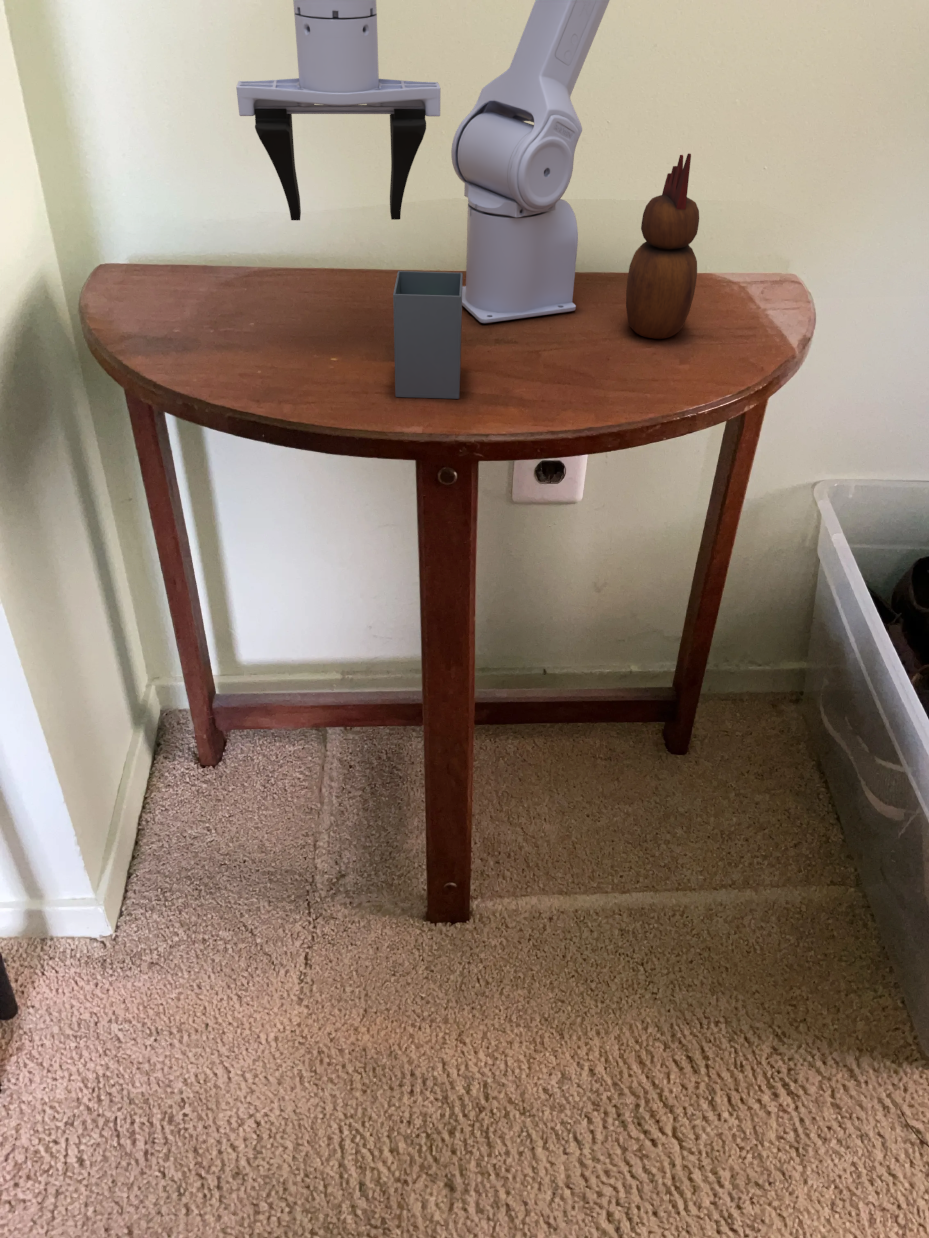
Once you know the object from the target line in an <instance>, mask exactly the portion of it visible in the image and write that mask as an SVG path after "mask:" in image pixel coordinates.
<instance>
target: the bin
mask: <svg viewBox="0 0 929 1238" xmlns="http://www.w3.org/2000/svg"><path fill="white" fill-rule="evenodd" d="M463 276H464V273H463V272H456V271H455V272H453V271H452V272H450V271H422V270H421V271H417V270H397V274H396V279H395V284H394V288H393V293H392V301H393V302H392V303H393V304H392V305H393V306H392V309H393V346H394V347H393V351H394V386H395V387H394V393H395V395H394V397H395V398H412V399H413V398H414V399H415V398H417V399H423V398H424V399H447V400H449V399H450V400H451V399H453V400H459V399H460V393H461V392H460V390H461V388H460V387H461V372H462V371H461V368H462V367H461V365H462V323H463V305H462V287H463Z"/></svg>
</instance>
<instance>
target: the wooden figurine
mask: <svg viewBox="0 0 929 1238" xmlns="http://www.w3.org/2000/svg"><path fill="white" fill-rule="evenodd" d="M691 160H692V154H691V153H687V155H686V158H685V161H684V155H683V154H680V155H679V157H678V161H677V165H673V166H672V168H671V172H669V173H667V174H666V178H665V181H664V186H663V189H662V193H661V194H660V195H656V196H654V197H652V198H651V199H650V200H649V201H648V203H647V204H646V205H645V208H644V210H643V213H642V218H641V223H640V224H641V226H640V231H641V234H642V237H643V239H644V240H645V241H644V242H643V243H642V244H640V245H639V247H638V248H637V249H636V250H635V252H634V254H633V255H632V258H631V261H630V264H629V268H628V274H627V279H626V288H625V309H626V317H627V321H628V325H629V327H630V328H631V329H632V331H633V332H634V333H636V334H637V335H639V336H640V337H644V338H649V339H655V340H661V339H667V338H671V337H673V336H675V335H676V334H677V333H679V332H680V331H681V330H682V328H683V326H684V325H685V323H686V322H687V318H688V316H689V313H690V312H691V308H692V305H693V304H692V303H693V301H694V296H695V291H696V285H697V279H698V260H697V257H696V255H695V252H694V249H693V248H692V247H691V246H690V245H691V243H692V242H693V241H694V240H695V238H696V237H697V235H698V230H699V225H700V209H699V207H698V204H697V203H696V201H695V200H693V199H691V198H690V197H688V189H689V180H690V172H691Z"/></svg>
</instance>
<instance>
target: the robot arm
mask: <svg viewBox="0 0 929 1238" xmlns="http://www.w3.org/2000/svg"><path fill="white" fill-rule="evenodd" d="M610 1H611V0H535V1H534V3H533V5H532V8H531V10H530V14H529V16H528V19H527V21H526V24H525V26H524V28H523V32H522V34H521V36H520V39H519V42H518V44H517V48H516V50H515V52H514V55H513V57H512V60H511V62H510V65H509V68H507V69H506V70H505V71H504V72H503V73H501V74H500V75H499V76H496V77H495V78H494V79H492V80H491V81H490V82H488V83H487V84H486V85H485V86H483V87H482V88H481V90H480V93H479V95H478V98H477V100H476V103H475V104H474V106H473V108H472V109H471V111H470V112H469V113H468V114H467V115H466V116H465V117H464V118H463V120H462V121H461V122H460V123H459V125H458V127H457V129H456V131H455V133H454V136H453V139H452V143H451V152H450V153H451V163H452V167H453V171H454V172H455V174H456V175H457V178H458V179H459V180H460V181H461V182H462V183H464V197H465V198H467V215H466V216H467V217H466V219H467V220H466V224H467V225H466V227H467V228H466V258H465V261H466V262H465V263H466V264H465V285H462V307H463V308H464V309H465V310H466V311H467V312H468V313H470V314H471V315H472V316H473V317H474V318H475V319H476V320H477V321H478V322H479V323H480V324H491V323H497V322H504V321H505V322H506V321H512V320H520V319H526V318H527V319H528V318H533V317H541V316H547V315H548V316H549V315H555V314H562V313H571V312H574V311H576V309H577V305H576V304H575V303H574V302H573V297H574V289H575V277H576V266H577V257H578V256H577V255H578V245H579V232H578V231H579V229H578V222H577V218H576V215H575V211H574V209H573V208H572V206H571V204H570V203H569V202H568V201H566V200H565V199H563V196H564V194H565V193H566V191H567V190H568V187H569V185H570V183H571V179H572V176H573V170H574V161H575V152H576V147H577V146H578V143H579V139H580V137H581V134H582V132H583V127H582V123H581V121H580V118H579V117H578V113H577V111H576V110H575V107H574V105H573V102H572V99H571V96H572V94H573V91H574V89H575V87H576V83H577V81H578V78H579V76H580V73H581V71H582V69H583V66H584V64H585V62H586V60H587V56H588V54H589V52H590V50H591V47H592V44H593V42H594V39H595V37H596V34H597V33H598V30H599V27H600V25H601V22H602V20H603V18H604V15H605V13H606V10H607V8H608V6H609V3H610ZM292 3H293V4H292V5H293V14H294V27H295V44H296V56H297V57H296V58H297V69H298V78H297V77H295V78H281V79H280V78H279V79H266V80H238V82H237V84H236V97H237V106H238V115H239V116H240V117H254V122H255V124H254V129H255V132H256V134H257V136H258V138H259V139H258V140H260V142H261V144H262V146H263V147H264V149H265V151H266V153H267V155H268V157H269V160H270V161H271V163H272V166H273V167H274V168H275V171H276V174H277V177H278V179H279V181H280V184H281V187H282V190H283V192H284V196H285V199H286V202H287V206H288V211H289V216H290V221H301V215H302V214H301V213H302V209H301V196H300V190H299V183H298V177H297V171H296V161H295V160H296V159H295V146H294V144H295V143H294V130H293V115H389V126H390V127H389V132H390V133H389V134H390V160H391V161H390V162H391V163H390V167H391V168H390V187H389V212H390V213H389V214H390V219H391V220H396V221H398V220H401V216H402V215H401V213H402V204H403V199H404V195H405V194H404V193H405V190H406V186H407V181H408V178H409V175H410V172H411V170H412V169H411V168H412V166H413V163H414V161H415V158H416V155H417V153H418V150H419V148H420V146H421V144H422V142H423V140H424V136H425V134H426V131H427V121H426V120H427V119H426V117H440V116H441V86H440V84H439V82H438V81H417V80H415V81H414V80H402V79H401V80H400V79H388V78H379V77H380V76H379V72H380V71H379V43H378V42H379V41H378V40H379V39H378V13H377V11H378V9H377V0H292ZM530 122H531V123H530ZM532 123H533V124H532Z"/></svg>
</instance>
